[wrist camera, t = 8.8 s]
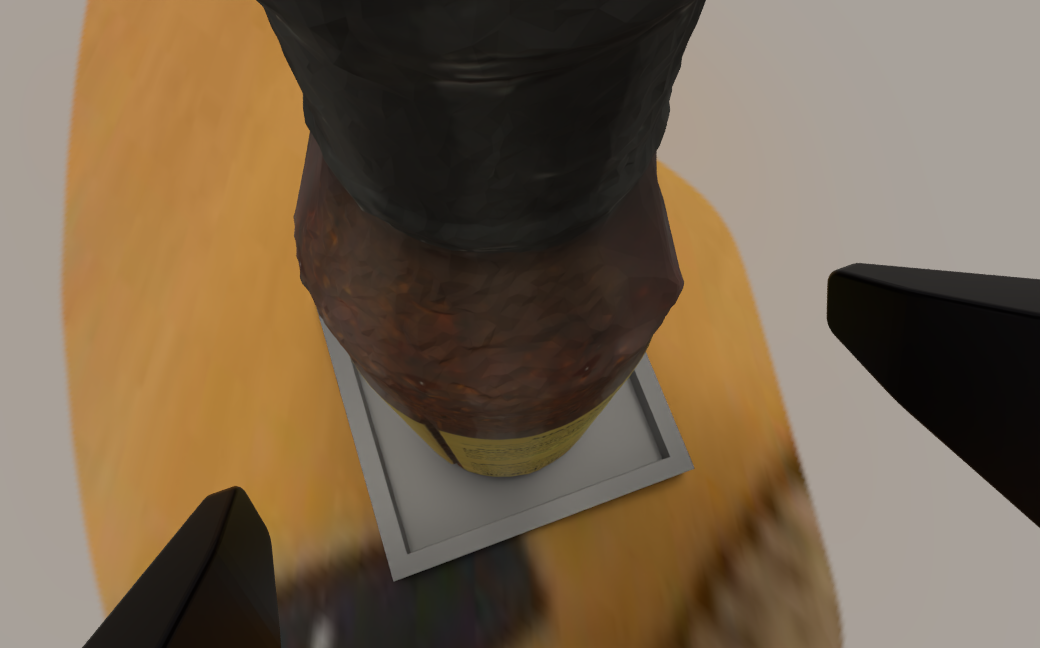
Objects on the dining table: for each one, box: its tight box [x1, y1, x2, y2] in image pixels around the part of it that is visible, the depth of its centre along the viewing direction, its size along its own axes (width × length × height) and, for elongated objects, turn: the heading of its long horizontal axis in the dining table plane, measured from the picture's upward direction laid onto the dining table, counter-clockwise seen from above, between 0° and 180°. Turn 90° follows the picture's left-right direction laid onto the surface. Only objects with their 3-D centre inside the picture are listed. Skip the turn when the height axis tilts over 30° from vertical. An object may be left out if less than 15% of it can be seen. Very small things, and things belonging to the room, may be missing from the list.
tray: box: [317, 310, 695, 581], centre depth 22 cm, size 10×10×2 cm
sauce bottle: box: [257, 0, 706, 477], centre depth 12 cm, size 7×6×20 cm
